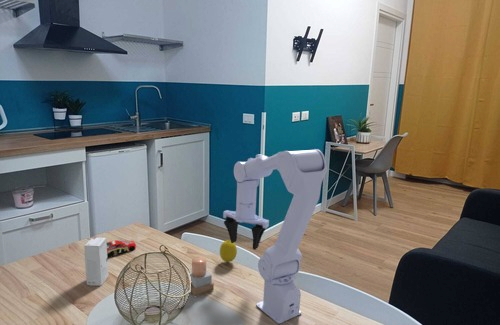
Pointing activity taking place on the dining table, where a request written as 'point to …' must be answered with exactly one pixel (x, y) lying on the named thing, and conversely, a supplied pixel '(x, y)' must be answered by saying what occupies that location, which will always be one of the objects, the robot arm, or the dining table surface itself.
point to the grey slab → (200, 280)
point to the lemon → (228, 251)
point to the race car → (119, 247)
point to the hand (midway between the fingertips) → (244, 245)
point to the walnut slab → (202, 289)
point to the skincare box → (96, 261)
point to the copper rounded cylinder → (199, 267)
